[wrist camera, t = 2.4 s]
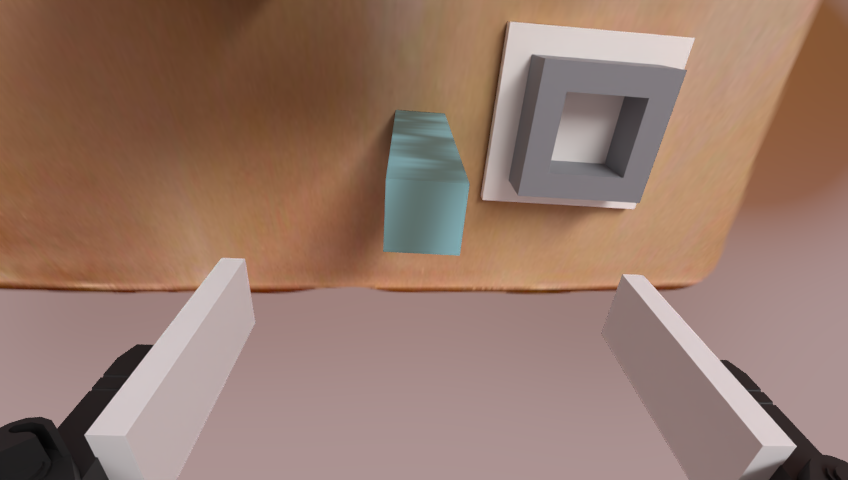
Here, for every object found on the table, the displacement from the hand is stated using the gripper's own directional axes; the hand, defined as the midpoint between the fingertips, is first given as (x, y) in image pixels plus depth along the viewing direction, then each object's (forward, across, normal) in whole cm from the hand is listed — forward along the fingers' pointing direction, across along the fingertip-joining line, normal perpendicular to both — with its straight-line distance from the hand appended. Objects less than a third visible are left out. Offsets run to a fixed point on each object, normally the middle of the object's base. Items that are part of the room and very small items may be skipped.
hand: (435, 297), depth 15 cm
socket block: (+23, +13, +2) cm, 26 cm away
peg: (+23, 0, 0) cm, 23 cm away
